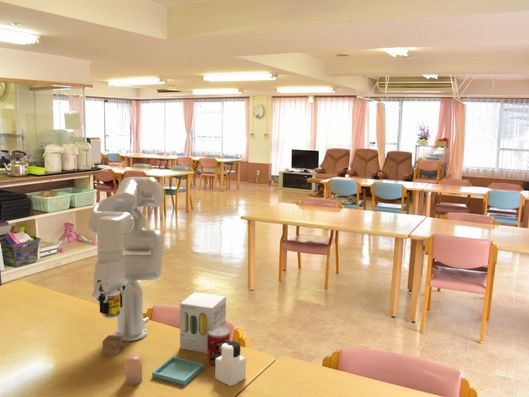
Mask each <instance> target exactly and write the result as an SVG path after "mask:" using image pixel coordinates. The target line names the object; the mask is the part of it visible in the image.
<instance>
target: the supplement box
mask: <svg viewBox="0 0 529 397" xmlns="http://www.w3.org/2000/svg"><path fill="white" fill-rule="evenodd" d="M226 310H227V296H225V295H221V294H220V295H219V294H212V293H205V292H198V291H194V292H193V293H192V294H190V295H188V296H187V297H186V298H185V299H184V300H183V301H181V302H180V303H179V349H183V350H187V351H188V350H189V351H193V352H198V353H204V354H207V338H208V330H209V329H210V328H212V327H215V326H223V327H226V328H227V326H226V325H227V323H226V318H227V316H226V315H227V311H226Z"/></svg>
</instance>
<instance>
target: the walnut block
mask: <svg viewBox="0 0 529 397" xmlns="http://www.w3.org/2000/svg"><path fill="white" fill-rule="evenodd" d="M122 350H123V341H122V336H113V335H112V334H109V335H108V336H106V337H105V338H104V339H103V340H102V355H104V356H105V355H106V356H114V357H115V356H118V355H119V354H120V352H121V351H122Z"/></svg>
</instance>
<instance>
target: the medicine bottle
mask: <svg viewBox="0 0 529 397" xmlns="http://www.w3.org/2000/svg"><path fill="white" fill-rule="evenodd" d="M246 363H247V358H246V357H245V356H242V355H241V344H240V343H239V342H238V341H233V340H230V341H228V342H225V343H223V344H222V351H221V356H220V357H218V358H216V360H215V371H214V372H215V373H214V375H215V376H214V379H215V380H217V381H219V382H221V383H223V384H225V385H226V384H227V386H228V385H229V387H233V386H234V385H236V384H238V383H240V382H241V381H243V380H244V378H245V379H246V371H247V369H246V368H247V367H246V366H247V364H246ZM239 381H240V382H239ZM237 382H238V383H237ZM232 385H233V386H232Z"/></svg>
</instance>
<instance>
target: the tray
mask: <svg viewBox="0 0 529 397" xmlns="http://www.w3.org/2000/svg"><path fill="white" fill-rule="evenodd" d="M202 370H204V363H202V362H199V361H198V362H197V361H194V360H190V359H185V358H181V357H179V356H178V357H177V356H171V357H170V358H169V359H167V360H166V361H164V363H162V364H161V365H160V366H158V367H157V368H156V369H155V370H153V371H152V373H151V377H152V379H156V380H158V381H159V380H160V381H163V382H167V383H171V384H174V385H178V386H181V387H185V386H186V385H188V384H189V383H190V382H191V381H192V380H193V379H194V378H195V377H196V376H197V375H199V373H201V371H202ZM190 380H191V381H190ZM189 381H190V382H189Z"/></svg>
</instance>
